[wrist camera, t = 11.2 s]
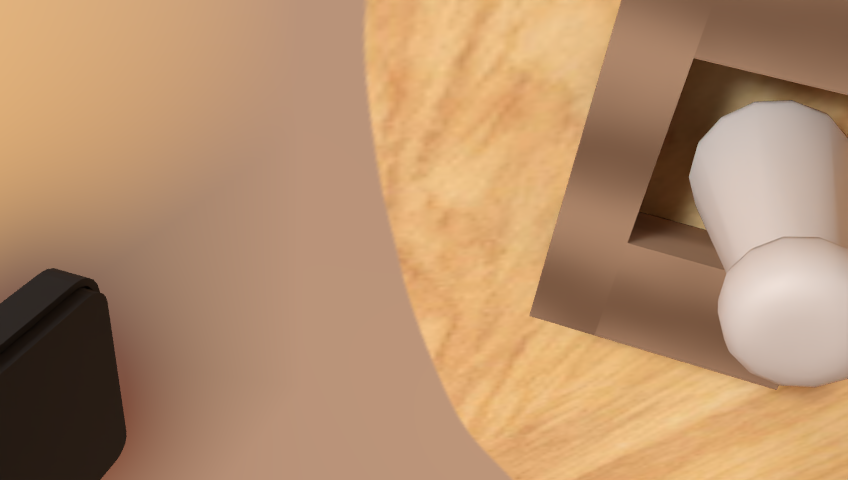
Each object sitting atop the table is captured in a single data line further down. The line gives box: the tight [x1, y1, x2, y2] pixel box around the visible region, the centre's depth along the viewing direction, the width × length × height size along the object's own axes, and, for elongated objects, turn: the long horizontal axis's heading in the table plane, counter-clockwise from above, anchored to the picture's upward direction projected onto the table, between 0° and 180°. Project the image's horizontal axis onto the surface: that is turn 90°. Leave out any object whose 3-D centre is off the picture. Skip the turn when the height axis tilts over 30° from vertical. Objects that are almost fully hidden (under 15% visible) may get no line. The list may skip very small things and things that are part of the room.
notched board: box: [530, 0, 848, 390], centre depth 31 cm, size 18×11×3 cm, turn 172°
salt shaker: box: [689, 100, 848, 387], centre depth 26 cm, size 6×6×13 cm
